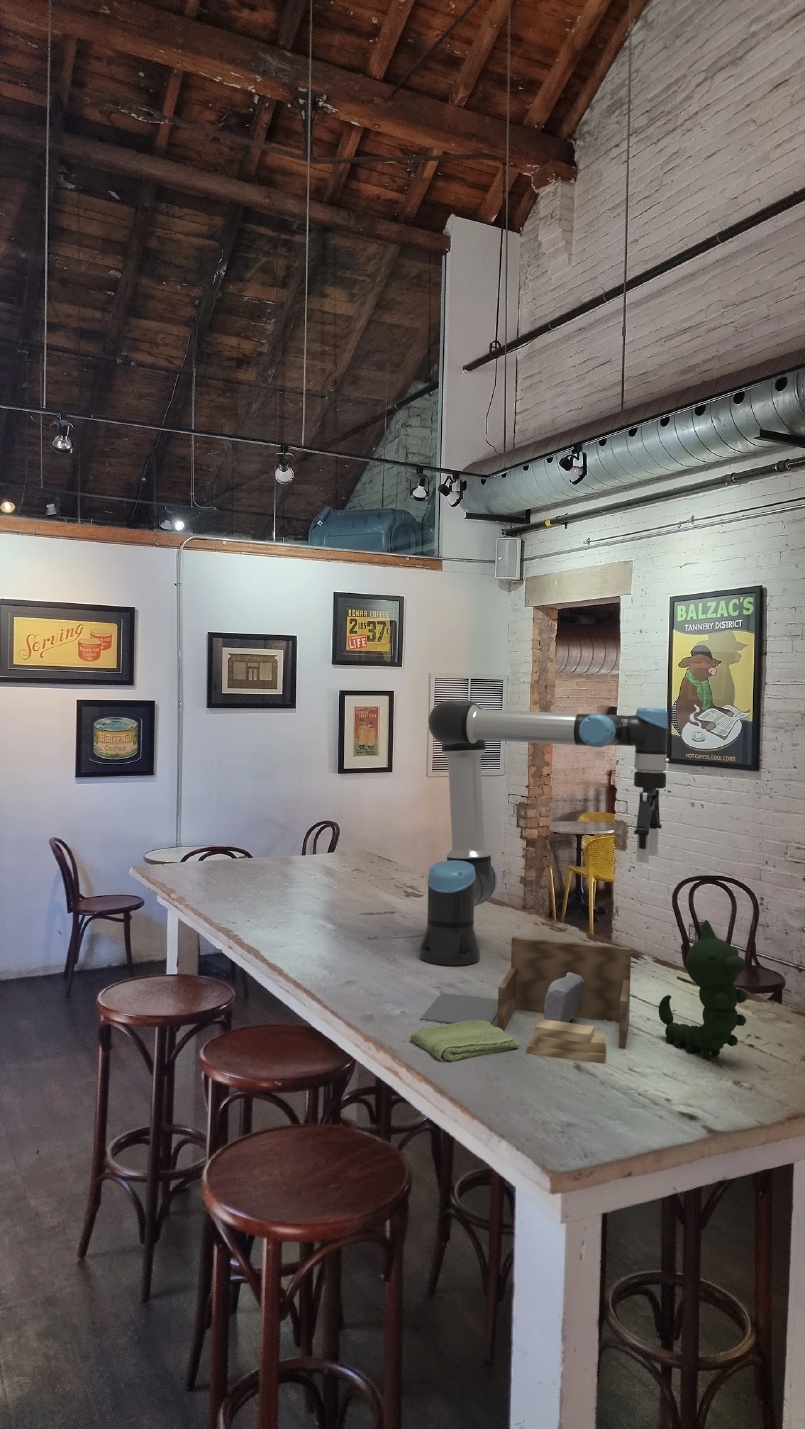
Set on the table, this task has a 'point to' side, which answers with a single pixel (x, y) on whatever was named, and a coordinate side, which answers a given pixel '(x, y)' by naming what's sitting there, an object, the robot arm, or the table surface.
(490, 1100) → the table surface
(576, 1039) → the offcut stack
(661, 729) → the robot arm
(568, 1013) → the stone block
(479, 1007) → the charcoal panel
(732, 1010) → the toy figurine
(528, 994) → the walnut rack
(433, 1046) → the washcloth
